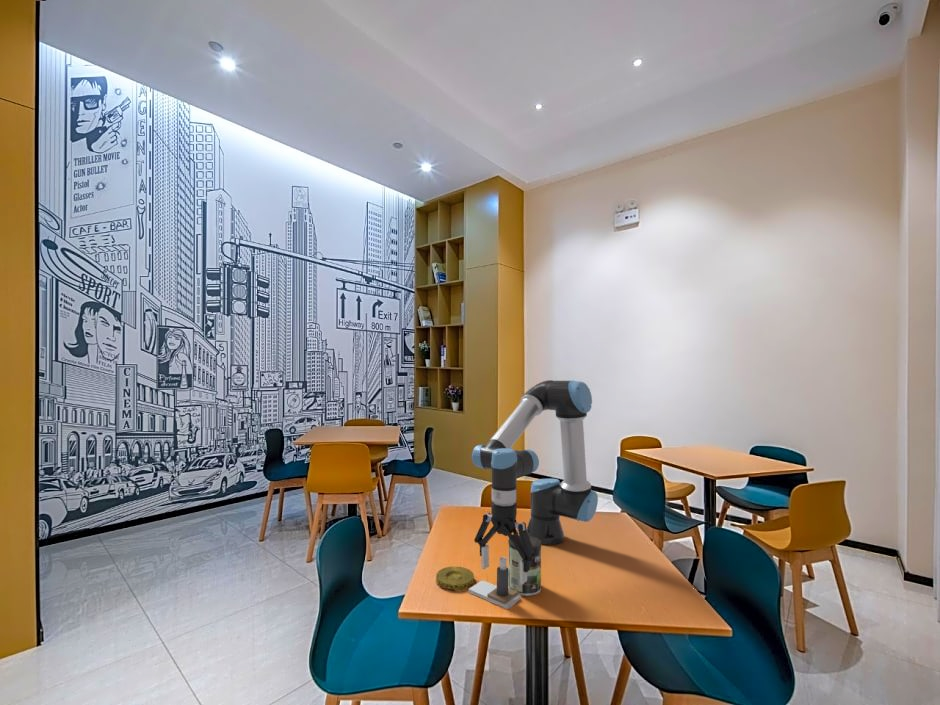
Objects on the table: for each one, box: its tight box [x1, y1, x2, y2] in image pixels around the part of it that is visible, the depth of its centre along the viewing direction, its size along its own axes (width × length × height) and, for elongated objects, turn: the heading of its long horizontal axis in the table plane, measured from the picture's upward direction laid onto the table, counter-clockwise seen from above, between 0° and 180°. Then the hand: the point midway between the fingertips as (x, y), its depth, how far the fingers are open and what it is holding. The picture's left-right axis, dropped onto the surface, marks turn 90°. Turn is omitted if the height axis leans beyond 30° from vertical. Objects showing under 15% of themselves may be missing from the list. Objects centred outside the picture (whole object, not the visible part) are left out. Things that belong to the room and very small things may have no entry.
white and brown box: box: [468, 580, 522, 610], centre depth 122 cm, size 7×14×2 cm, turn 52°
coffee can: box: [507, 534, 542, 597], centre depth 128 cm, size 10×10×14 cm
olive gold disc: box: [435, 565, 475, 592], centre depth 131 cm, size 12×12×2 cm
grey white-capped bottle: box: [496, 556, 509, 597], centre depth 121 cm, size 3×3×10 cm
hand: (503, 574), depth 121 cm, fingers open, 13 cm apart
